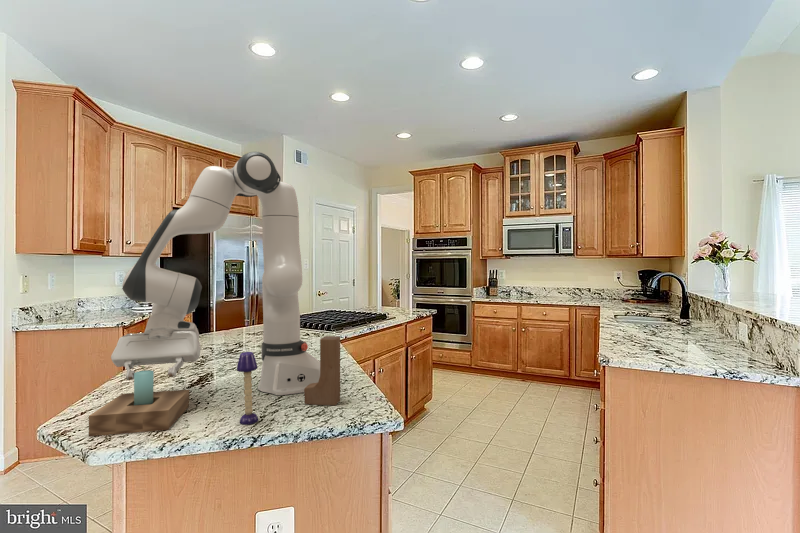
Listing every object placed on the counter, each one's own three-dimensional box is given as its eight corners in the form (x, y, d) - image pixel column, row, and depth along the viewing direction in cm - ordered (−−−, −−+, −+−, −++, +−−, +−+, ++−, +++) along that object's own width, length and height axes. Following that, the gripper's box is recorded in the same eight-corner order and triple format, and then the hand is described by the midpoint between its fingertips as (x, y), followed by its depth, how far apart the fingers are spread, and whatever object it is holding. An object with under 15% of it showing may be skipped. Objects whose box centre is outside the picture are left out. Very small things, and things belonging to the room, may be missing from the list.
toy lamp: (250, 426, 94) (250, 355, 94) (232, 425, 94) (232, 354, 94) (261, 418, 98) (261, 350, 98) (244, 417, 99) (244, 350, 99)
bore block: (189, 406, 107) (189, 389, 107) (168, 429, 92) (168, 410, 92) (122, 411, 104) (122, 393, 104) (88, 436, 88) (88, 415, 88)
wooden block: (303, 404, 108) (303, 338, 108) (309, 399, 113) (309, 335, 113) (335, 406, 107) (335, 339, 107) (340, 400, 112) (340, 336, 112)
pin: (155, 413, 100) (156, 369, 100) (149, 419, 96) (149, 374, 96) (137, 415, 99) (138, 370, 99) (130, 421, 95) (131, 375, 95)
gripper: (116, 327, 105) (98, 374, 96) (200, 323, 110) (191, 367, 100) (124, 341, 110) (108, 387, 100) (205, 336, 114) (196, 380, 105)
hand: (150, 377), depth 100 cm, fingers open, 8 cm apart
